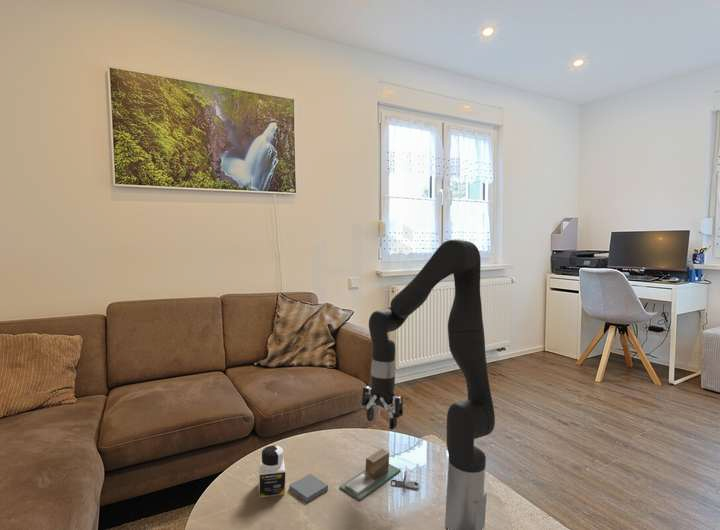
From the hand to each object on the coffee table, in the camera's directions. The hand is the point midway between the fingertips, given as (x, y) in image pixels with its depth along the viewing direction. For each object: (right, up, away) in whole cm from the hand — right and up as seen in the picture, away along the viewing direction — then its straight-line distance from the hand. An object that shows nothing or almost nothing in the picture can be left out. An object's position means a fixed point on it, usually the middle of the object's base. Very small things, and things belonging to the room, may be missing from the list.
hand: (381, 424), depth 123 cm
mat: (-3, -16, -2) cm, 17 cm away
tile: (-19, -15, -5) cm, 25 cm away
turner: (-4, -16, -3) cm, 16 cm away
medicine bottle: (-32, -16, -8) cm, 37 cm away
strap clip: (+7, -17, -4) cm, 19 cm away
